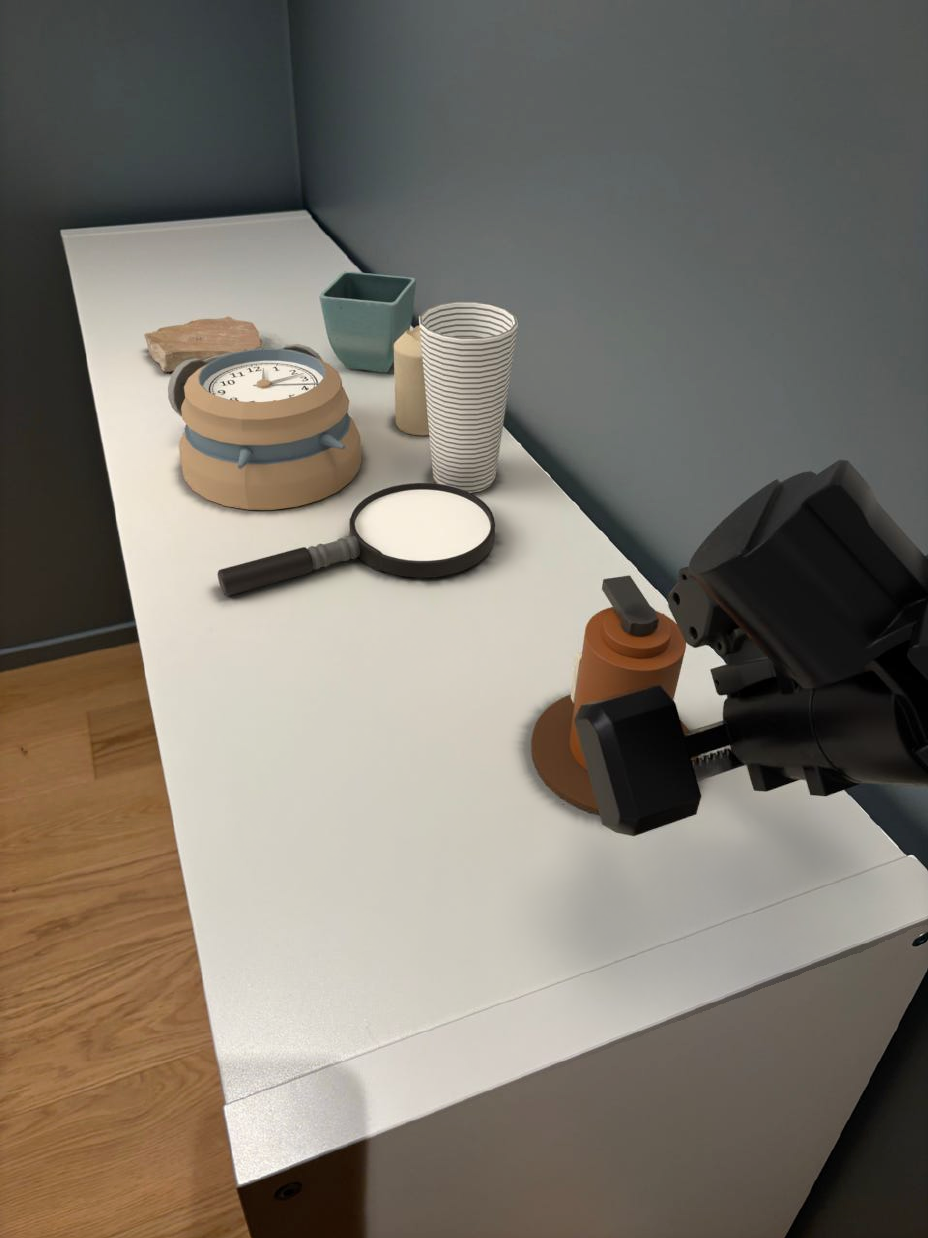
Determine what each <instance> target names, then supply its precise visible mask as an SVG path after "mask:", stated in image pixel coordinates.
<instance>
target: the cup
mask: <svg viewBox="0 0 928 1238" xmlns="http://www.w3.org/2000/svg"><path fill="white" fill-rule="evenodd" d="M418 323H419V326H420V335H421V346H422V357H423V369H424V380H425V391H426V402H427V413H428V425H429V435H428V436H429V446H430V458H431V469H432V478H433V481H434V483H435V484H442V485H447V486H452V487H455V488H459V489H462V490H464V491H467V492H469V493H471V494H474V493H478V492H482V491H484V490H487V489H488V488H489V487H491V486H492V484H493V483H494V481H495V479H496V477H497V471H498V470H497V469H498V462H499V455H500V448H501V441H502V435H503V429H504V422H505V416H506V408H507V401H508V394H509V388H510V381H511V374H512V366H513V360H514V353H515V347H516V341H517V333H518V328H519V323H518V320H517V315H515V314H513V313H512V312H510V311H509V310H508V309H507V308H504V307H501V306H498V305H495V304H492V303H486V302H479V301H452V302H445V303H440V304H439V303H438V304H436V305H434V306H432V307H431V306H430V307H429V308H426V309H425V310H424V311H423V312H422V313H421V314H420V315H419V316H418Z"/></svg>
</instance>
